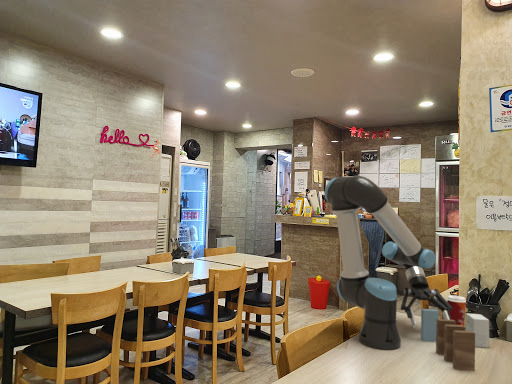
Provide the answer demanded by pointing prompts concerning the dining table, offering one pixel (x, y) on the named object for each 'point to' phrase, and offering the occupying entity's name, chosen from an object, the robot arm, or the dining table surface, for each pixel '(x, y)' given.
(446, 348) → the domino
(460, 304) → the paper cup
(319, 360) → the dining table surface
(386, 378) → the dining table surface
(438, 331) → the domino
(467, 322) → the small box
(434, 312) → the blue domino
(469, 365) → the domino
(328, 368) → the dining table surface
